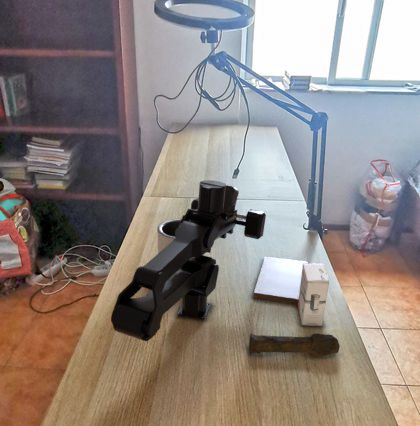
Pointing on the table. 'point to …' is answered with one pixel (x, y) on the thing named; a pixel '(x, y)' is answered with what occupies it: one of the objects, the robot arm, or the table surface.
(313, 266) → the ink box
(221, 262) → the table surface
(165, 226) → the planter
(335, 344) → the hand tool
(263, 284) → the walnut board
